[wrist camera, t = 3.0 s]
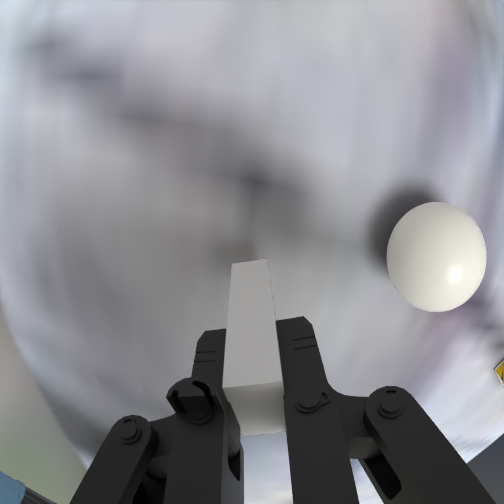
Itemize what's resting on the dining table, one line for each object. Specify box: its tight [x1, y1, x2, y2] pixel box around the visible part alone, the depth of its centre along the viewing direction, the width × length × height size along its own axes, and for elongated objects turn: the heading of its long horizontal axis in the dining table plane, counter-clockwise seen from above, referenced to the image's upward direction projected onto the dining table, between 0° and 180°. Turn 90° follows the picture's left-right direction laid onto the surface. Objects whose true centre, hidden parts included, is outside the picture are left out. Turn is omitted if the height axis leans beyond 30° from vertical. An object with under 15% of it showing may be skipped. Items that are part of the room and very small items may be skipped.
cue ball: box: [387, 202, 486, 312], centre depth 13 cm, size 6×6×6 cm
